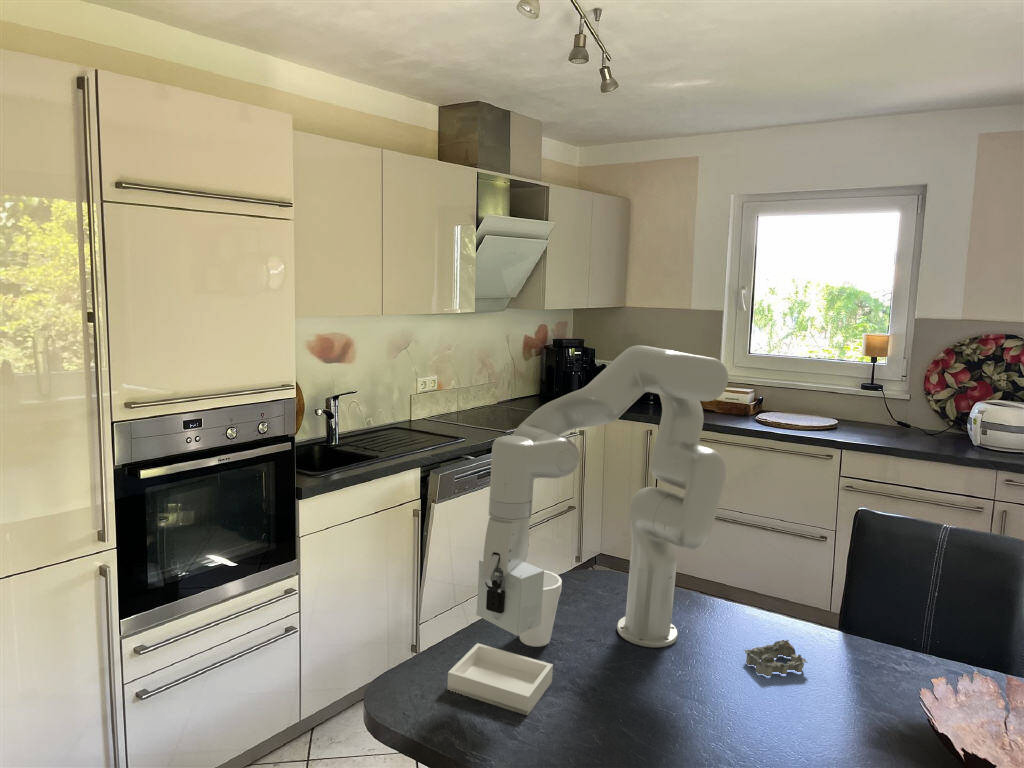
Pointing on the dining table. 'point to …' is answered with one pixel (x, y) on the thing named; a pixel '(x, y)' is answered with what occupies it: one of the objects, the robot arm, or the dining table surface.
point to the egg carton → (771, 652)
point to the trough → (501, 678)
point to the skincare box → (515, 599)
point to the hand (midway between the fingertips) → (505, 601)
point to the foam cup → (545, 612)
